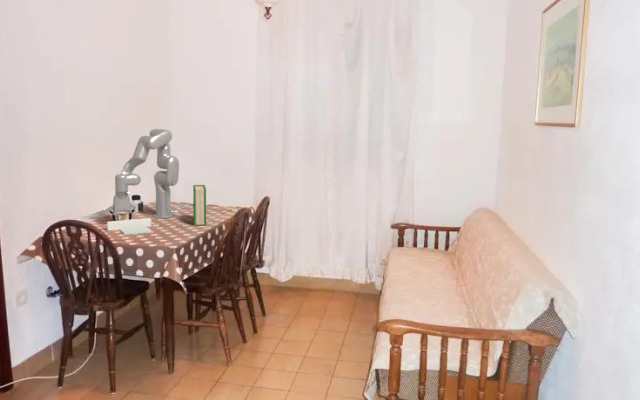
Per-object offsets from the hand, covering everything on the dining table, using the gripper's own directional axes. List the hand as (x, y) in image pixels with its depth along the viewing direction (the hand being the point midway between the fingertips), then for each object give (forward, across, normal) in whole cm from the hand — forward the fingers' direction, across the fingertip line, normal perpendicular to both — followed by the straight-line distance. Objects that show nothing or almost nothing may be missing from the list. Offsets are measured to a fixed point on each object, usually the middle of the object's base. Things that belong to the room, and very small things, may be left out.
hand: (122, 220), depth 344 cm
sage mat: (+2, -2, +25) cm, 25 cm away
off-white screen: (+2, -1, +14) cm, 14 cm away
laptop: (+2, -60, -43) cm, 74 cm away
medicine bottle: (+2, -18, -38) cm, 42 cm away
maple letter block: (+2, 0, 0) cm, 3 cm away
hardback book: (+2, -45, +17) cm, 48 cm away
